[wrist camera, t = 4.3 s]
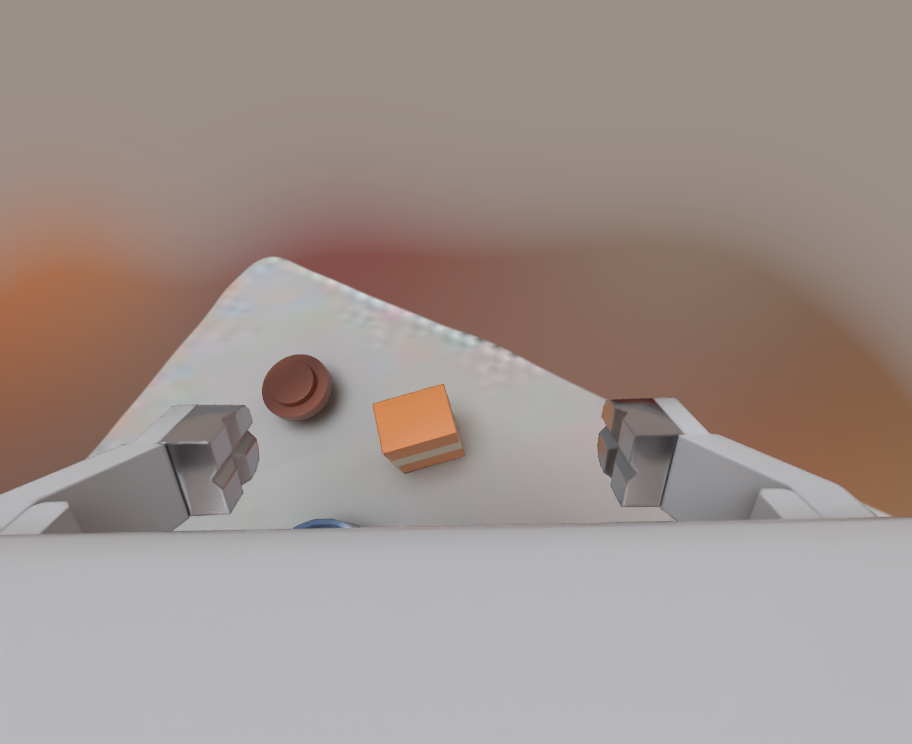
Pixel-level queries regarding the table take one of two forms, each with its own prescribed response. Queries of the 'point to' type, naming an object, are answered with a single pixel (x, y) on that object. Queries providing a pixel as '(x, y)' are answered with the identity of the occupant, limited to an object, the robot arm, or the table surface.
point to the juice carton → (418, 429)
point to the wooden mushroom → (297, 387)
